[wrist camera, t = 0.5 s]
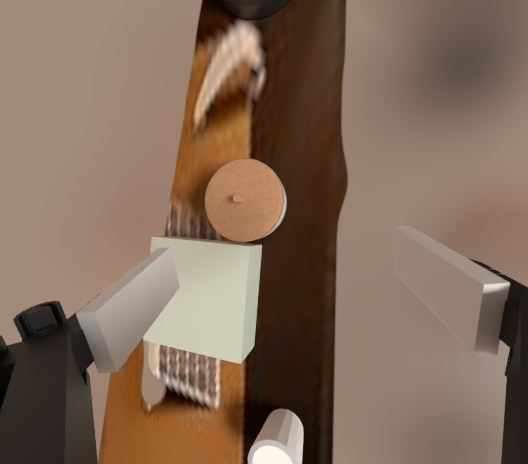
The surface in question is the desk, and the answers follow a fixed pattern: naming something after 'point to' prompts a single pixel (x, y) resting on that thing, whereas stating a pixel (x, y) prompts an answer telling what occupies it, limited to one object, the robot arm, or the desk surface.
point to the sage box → (210, 298)
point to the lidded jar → (245, 200)
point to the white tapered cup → (278, 440)
